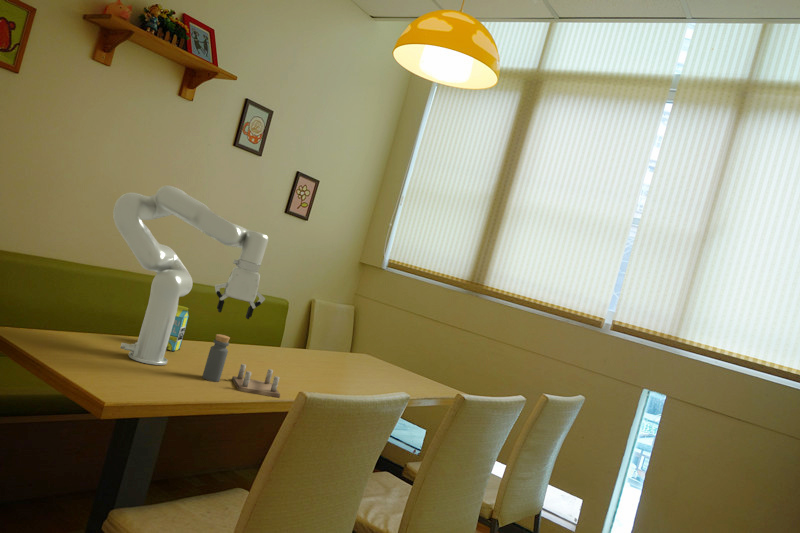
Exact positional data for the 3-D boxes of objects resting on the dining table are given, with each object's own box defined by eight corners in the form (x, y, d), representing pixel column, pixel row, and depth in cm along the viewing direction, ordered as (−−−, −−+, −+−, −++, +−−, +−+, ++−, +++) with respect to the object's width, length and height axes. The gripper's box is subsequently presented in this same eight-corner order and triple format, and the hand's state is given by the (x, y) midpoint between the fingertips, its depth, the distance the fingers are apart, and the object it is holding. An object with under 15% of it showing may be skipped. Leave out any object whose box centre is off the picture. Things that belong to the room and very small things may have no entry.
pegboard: (238, 390, 203) (243, 372, 203) (231, 379, 215) (236, 362, 216) (279, 397, 209) (284, 379, 209) (270, 386, 221) (275, 369, 221)
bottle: (214, 382, 204) (226, 338, 204) (198, 377, 205) (211, 333, 206) (222, 380, 210) (234, 338, 210) (207, 375, 211) (219, 333, 211)
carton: (153, 347, 231) (167, 300, 232) (161, 344, 239) (174, 299, 239) (172, 352, 231) (186, 305, 232) (179, 349, 239) (192, 304, 239)
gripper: (224, 261, 203) (209, 310, 202) (274, 275, 210) (260, 323, 210) (221, 258, 210) (206, 307, 209) (270, 272, 217) (255, 319, 216)
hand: (233, 315), depth 209 cm, fingers open, 9 cm apart
